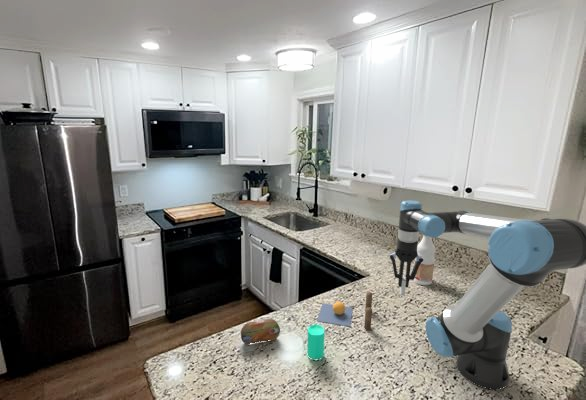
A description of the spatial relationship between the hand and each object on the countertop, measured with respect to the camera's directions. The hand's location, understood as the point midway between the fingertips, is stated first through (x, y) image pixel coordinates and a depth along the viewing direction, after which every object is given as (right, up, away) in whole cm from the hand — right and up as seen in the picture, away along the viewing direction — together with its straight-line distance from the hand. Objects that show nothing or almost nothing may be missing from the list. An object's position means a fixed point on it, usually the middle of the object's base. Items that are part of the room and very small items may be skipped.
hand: (402, 293), depth 125 cm
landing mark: (-26, -12, +10) cm, 31 cm away
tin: (-58, -16, -7) cm, 60 cm away
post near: (-14, -15, 0) cm, 20 cm away
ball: (-25, -10, +10) cm, 28 cm away
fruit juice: (+25, -6, +40) cm, 48 cm away
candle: (-37, -18, -15) cm, 44 cm away
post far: (-11, -12, +12) cm, 20 cm away
